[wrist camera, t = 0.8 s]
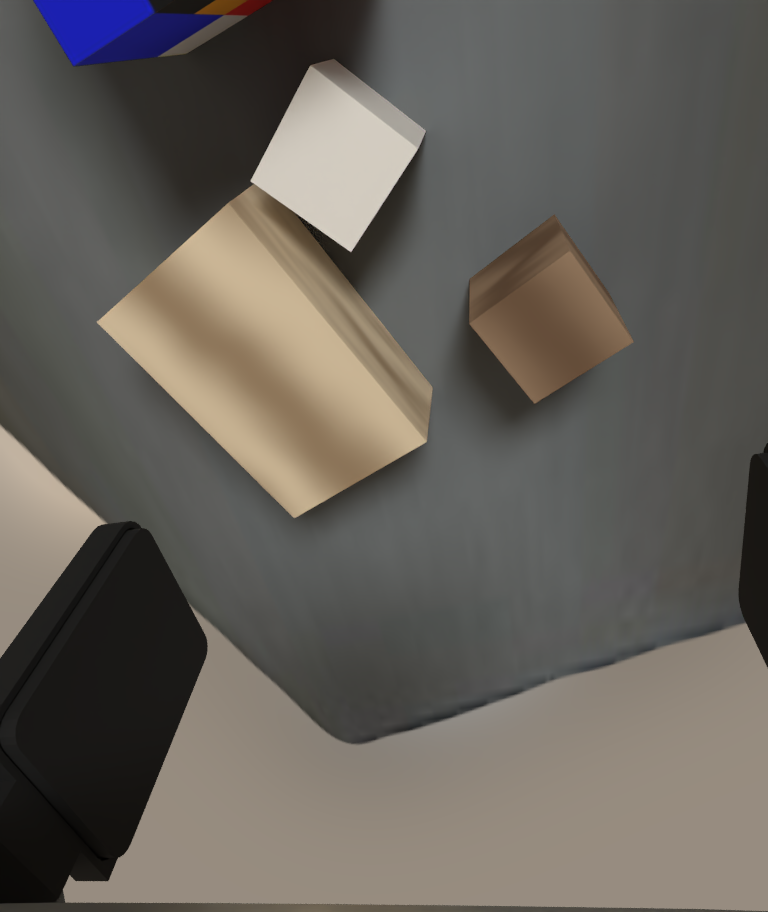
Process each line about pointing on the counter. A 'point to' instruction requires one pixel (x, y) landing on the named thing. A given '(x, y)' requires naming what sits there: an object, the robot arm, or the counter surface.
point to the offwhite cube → (337, 152)
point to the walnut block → (545, 311)
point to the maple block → (275, 354)
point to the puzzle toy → (138, 26)
